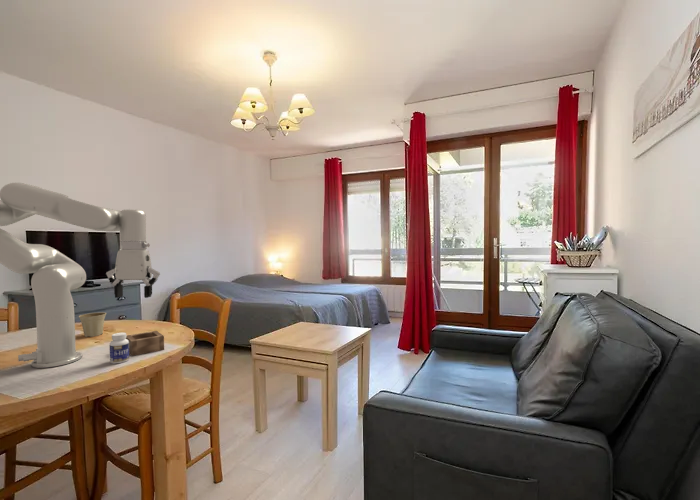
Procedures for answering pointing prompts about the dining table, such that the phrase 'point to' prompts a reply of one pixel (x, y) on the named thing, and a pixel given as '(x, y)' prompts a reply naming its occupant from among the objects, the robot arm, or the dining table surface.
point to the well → (145, 342)
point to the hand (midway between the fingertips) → (133, 297)
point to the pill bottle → (119, 348)
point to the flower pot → (92, 323)
